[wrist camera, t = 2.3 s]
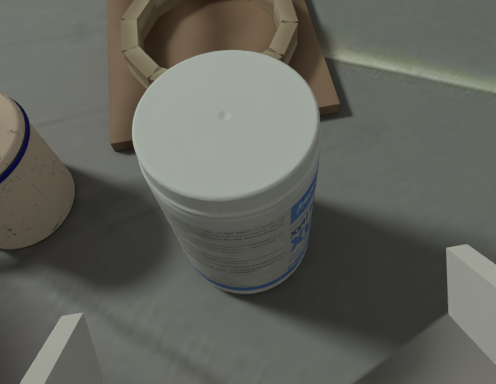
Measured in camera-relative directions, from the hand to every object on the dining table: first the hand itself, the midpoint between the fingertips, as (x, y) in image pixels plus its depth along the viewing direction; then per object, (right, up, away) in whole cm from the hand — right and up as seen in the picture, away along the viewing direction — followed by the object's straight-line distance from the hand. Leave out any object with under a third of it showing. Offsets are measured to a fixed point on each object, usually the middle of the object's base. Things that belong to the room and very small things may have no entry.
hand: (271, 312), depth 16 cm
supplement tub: (-1, +1, +19) cm, 19 cm away
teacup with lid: (-21, +3, +21) cm, 30 cm away
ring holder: (-4, +18, +28) cm, 34 cm away
